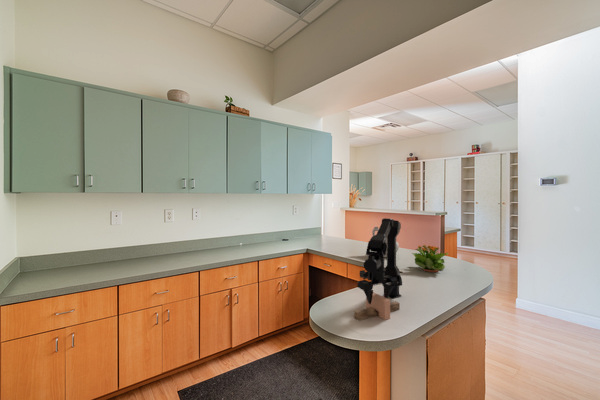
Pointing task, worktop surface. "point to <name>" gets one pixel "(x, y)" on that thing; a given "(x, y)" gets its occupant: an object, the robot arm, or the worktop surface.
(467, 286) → the worktop surface
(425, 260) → the potted flower
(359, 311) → the brown rail
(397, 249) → the ceramic pitcher
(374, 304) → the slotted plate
